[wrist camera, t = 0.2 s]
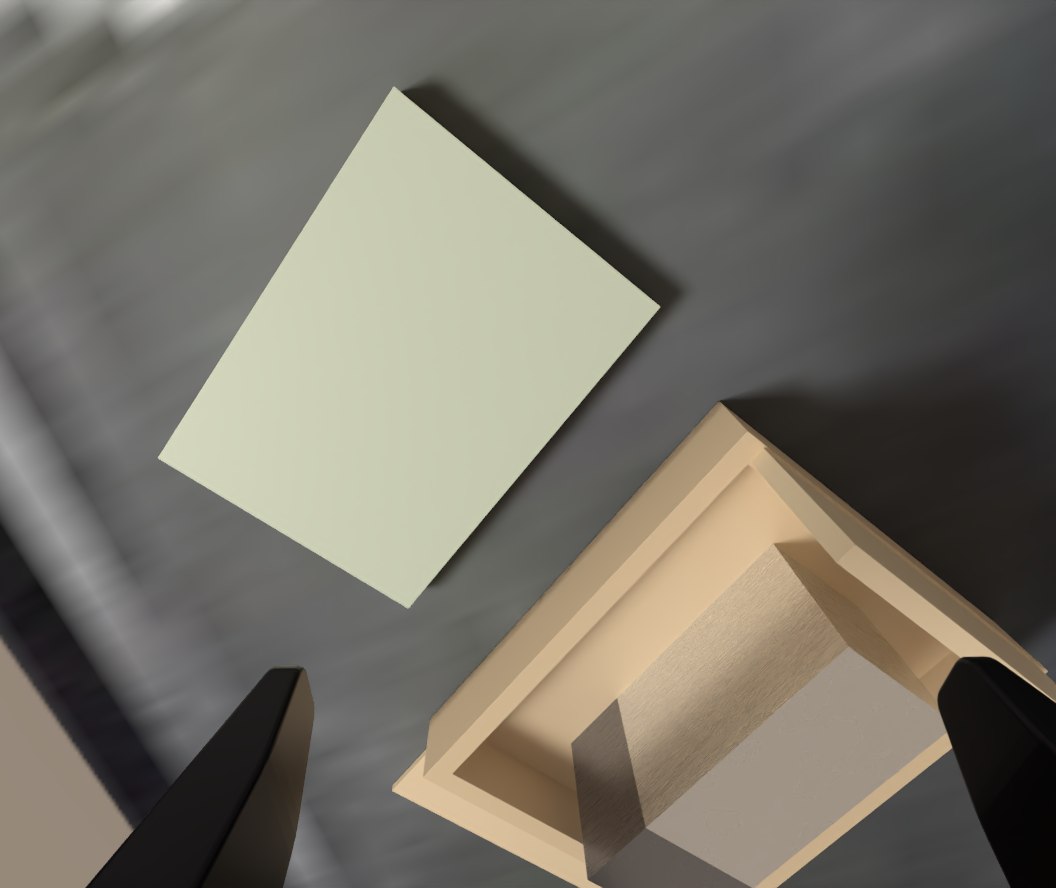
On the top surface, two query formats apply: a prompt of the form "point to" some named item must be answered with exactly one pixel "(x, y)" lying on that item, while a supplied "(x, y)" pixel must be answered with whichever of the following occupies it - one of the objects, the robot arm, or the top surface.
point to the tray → (675, 637)
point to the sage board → (406, 358)
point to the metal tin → (747, 737)
